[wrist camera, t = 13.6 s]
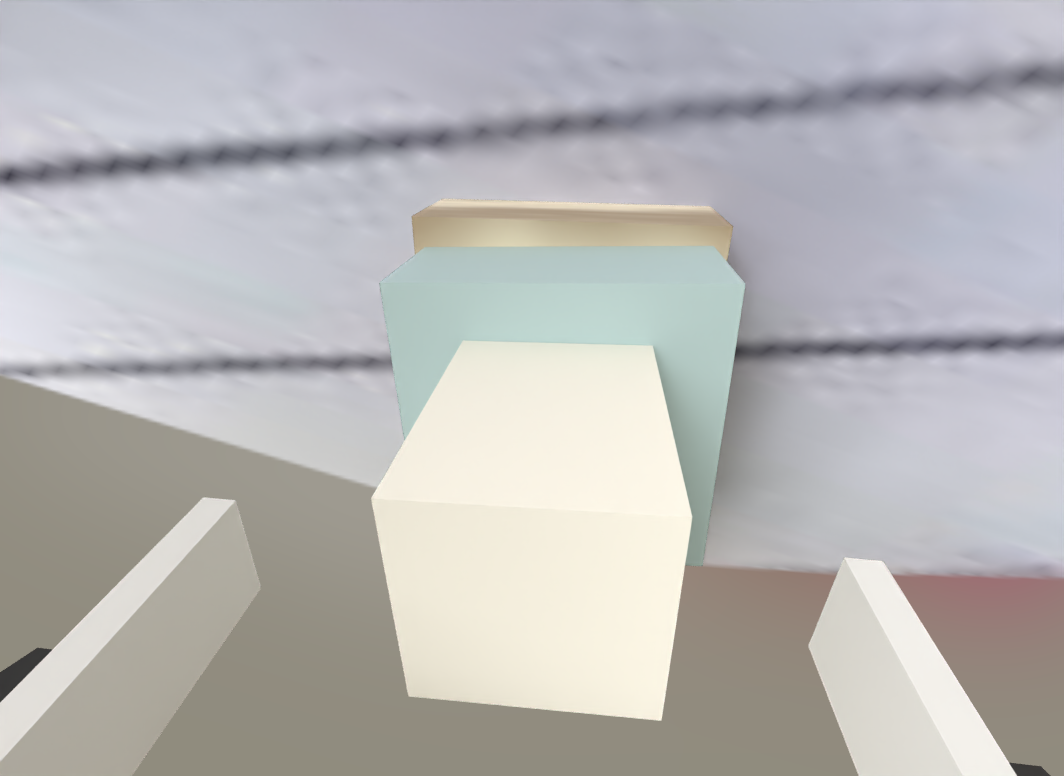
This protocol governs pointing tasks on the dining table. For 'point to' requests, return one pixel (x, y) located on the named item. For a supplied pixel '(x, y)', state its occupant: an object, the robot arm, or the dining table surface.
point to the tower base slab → (567, 225)
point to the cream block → (538, 531)
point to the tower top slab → (580, 328)
